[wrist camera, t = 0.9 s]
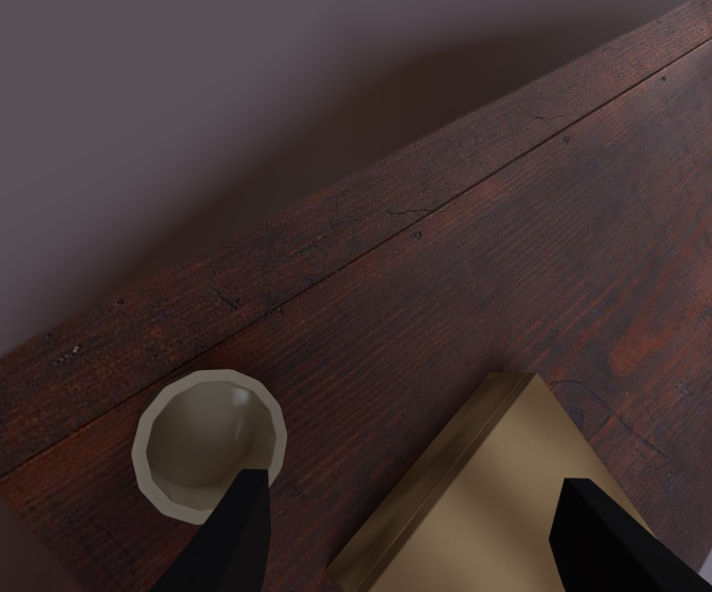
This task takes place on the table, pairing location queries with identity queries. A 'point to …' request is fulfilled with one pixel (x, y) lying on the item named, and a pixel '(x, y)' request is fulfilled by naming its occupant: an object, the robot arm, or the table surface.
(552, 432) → the square wooden board
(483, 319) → the table surface
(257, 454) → the ramekin
